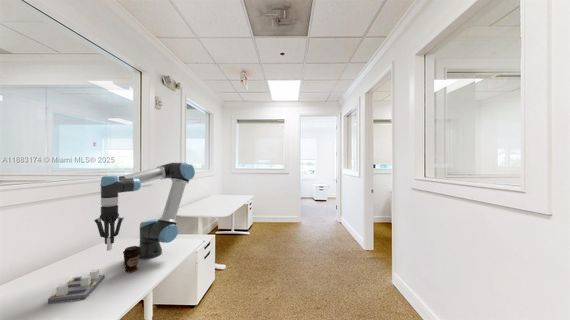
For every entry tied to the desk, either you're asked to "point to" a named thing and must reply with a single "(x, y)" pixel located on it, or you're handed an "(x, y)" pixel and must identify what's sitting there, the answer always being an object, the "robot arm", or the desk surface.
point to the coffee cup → (131, 258)
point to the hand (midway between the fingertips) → (109, 249)
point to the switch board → (76, 290)
